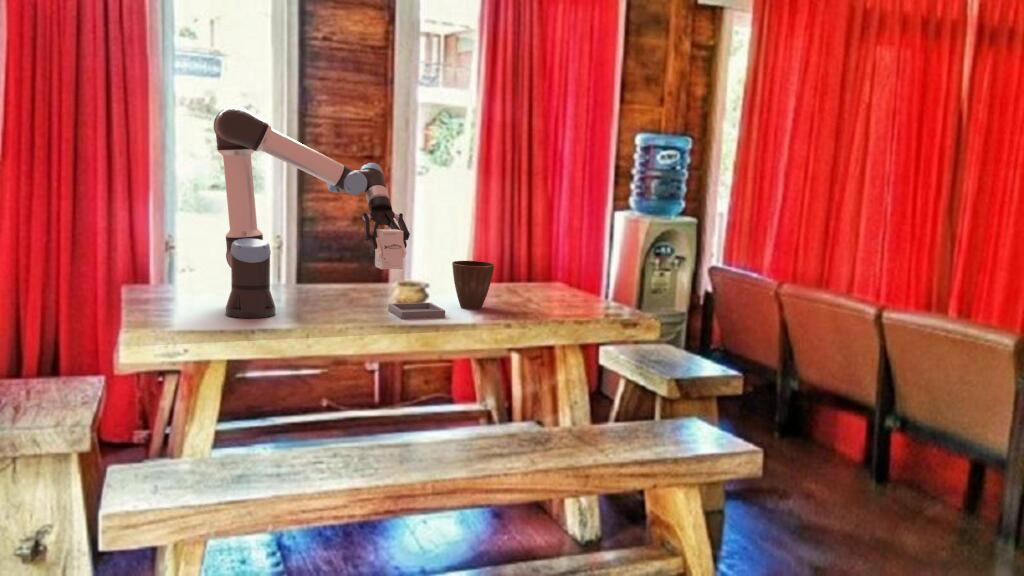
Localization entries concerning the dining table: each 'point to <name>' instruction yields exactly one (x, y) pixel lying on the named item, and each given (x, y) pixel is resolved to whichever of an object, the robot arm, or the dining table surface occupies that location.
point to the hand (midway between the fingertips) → (392, 255)
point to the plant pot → (472, 282)
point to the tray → (416, 310)
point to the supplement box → (390, 249)
